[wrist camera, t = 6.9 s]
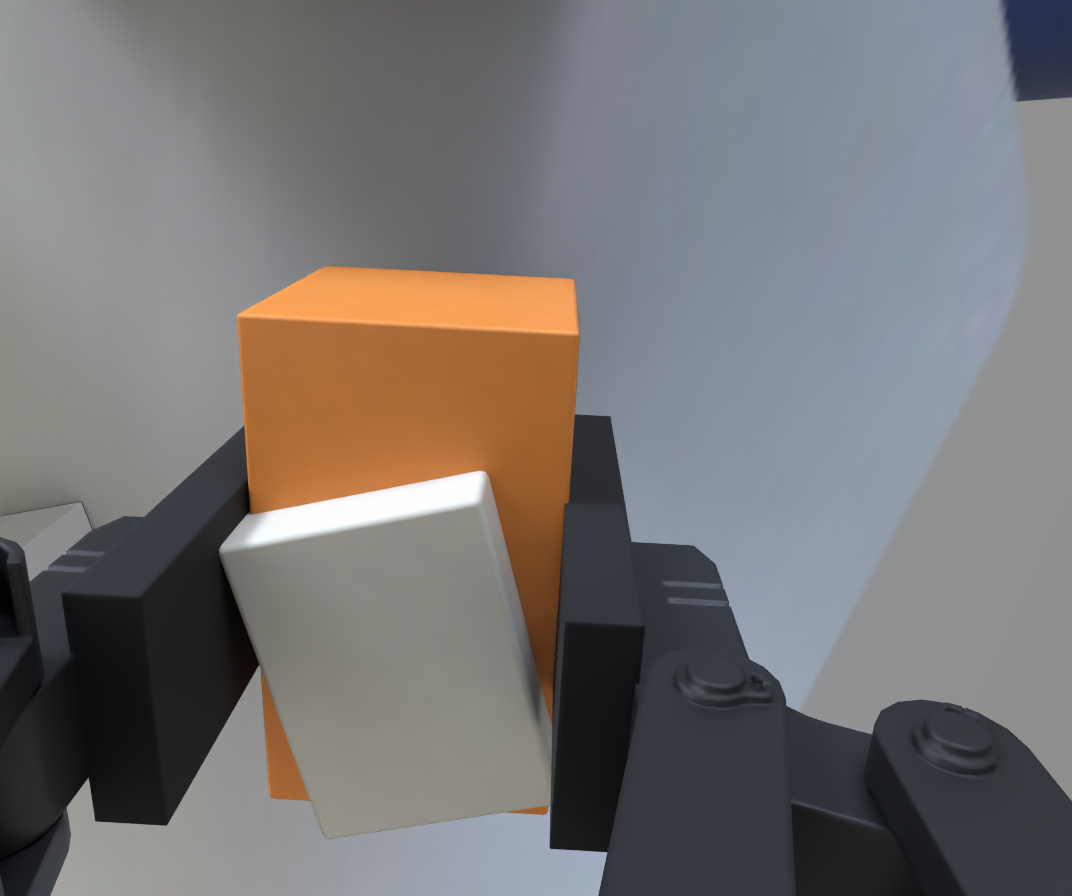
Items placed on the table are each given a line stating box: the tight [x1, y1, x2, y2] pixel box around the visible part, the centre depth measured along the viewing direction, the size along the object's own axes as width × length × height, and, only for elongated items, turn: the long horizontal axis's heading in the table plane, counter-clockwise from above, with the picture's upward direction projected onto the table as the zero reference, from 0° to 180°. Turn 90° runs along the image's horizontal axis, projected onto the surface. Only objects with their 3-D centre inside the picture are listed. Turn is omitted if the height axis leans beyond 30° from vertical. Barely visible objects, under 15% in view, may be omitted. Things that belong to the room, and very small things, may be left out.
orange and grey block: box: [219, 266, 580, 839], centre depth 13 cm, size 4×7×5 cm, turn 177°
